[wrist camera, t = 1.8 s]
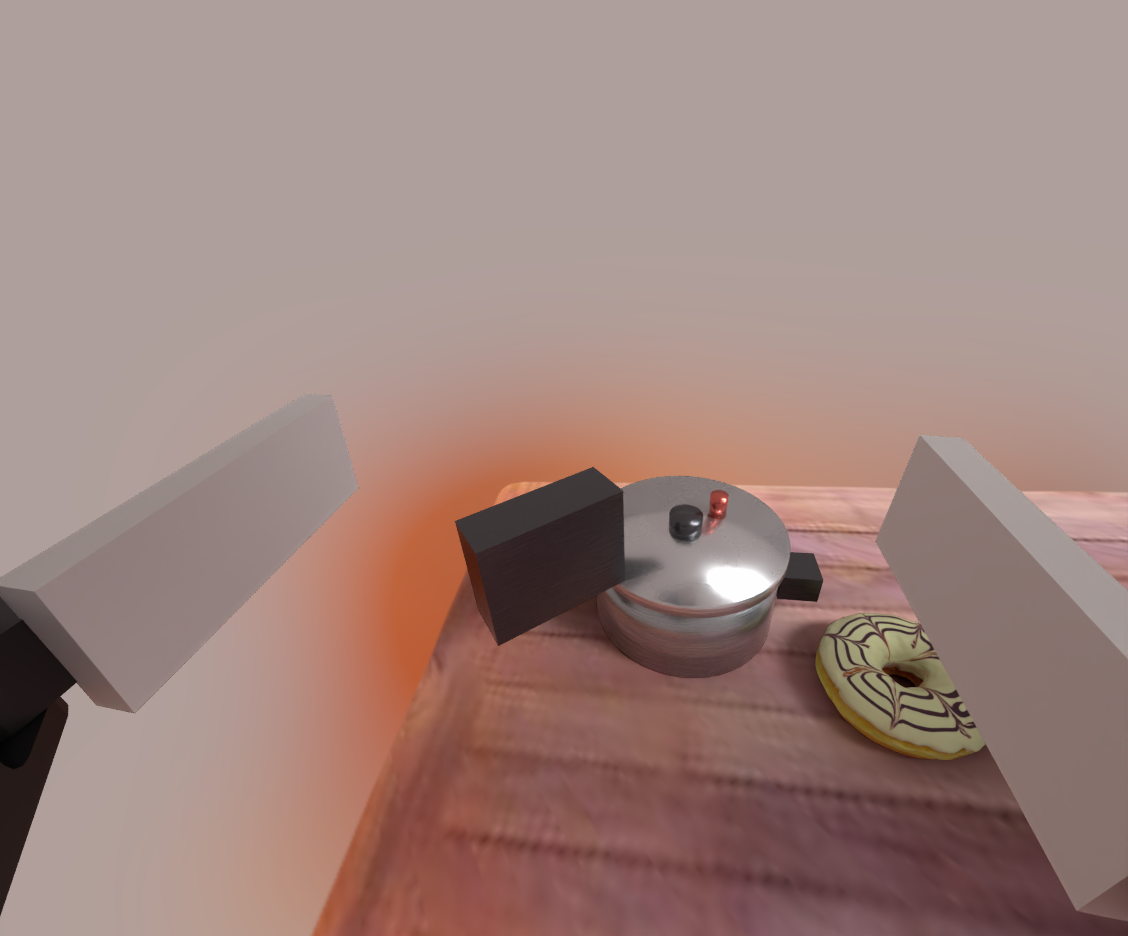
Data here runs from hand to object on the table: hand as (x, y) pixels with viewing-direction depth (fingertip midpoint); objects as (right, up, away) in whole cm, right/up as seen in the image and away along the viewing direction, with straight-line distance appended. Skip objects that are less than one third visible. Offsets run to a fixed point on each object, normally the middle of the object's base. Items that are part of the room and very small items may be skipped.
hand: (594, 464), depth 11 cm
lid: (+5, -8, +26) cm, 28 cm away
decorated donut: (+23, -17, +24) cm, 37 cm away
